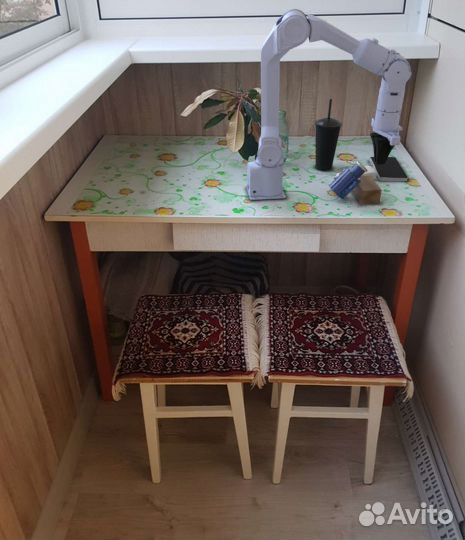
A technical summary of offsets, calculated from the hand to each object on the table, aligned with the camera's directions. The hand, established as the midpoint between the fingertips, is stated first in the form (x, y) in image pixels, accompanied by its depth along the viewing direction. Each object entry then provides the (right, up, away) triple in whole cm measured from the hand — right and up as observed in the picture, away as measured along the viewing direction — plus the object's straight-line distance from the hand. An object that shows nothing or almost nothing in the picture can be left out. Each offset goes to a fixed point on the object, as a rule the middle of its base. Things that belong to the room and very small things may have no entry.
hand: (379, 162), depth 128 cm
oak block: (-3, -8, +5) cm, 10 cm away
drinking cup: (-10, +3, +21) cm, 24 cm away
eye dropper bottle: (+2, 0, +14) cm, 14 cm away
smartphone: (+8, +2, +19) cm, 21 cm away
